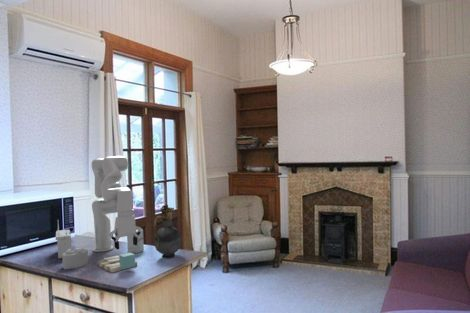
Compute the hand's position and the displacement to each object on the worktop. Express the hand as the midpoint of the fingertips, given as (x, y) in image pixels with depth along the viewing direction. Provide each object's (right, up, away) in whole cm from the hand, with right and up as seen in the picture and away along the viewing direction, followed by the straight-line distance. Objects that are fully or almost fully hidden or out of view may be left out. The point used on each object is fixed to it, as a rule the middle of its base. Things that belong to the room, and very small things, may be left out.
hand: (126, 246), depth 187 cm
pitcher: (+17, -11, +21) cm, 29 cm away
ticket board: (-8, -12, +9) cm, 17 cm away
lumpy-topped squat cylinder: (-32, -13, +12) cm, 37 cm away
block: (+1, -10, 0) cm, 10 cm away
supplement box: (-5, -12, +36) cm, 38 cm away
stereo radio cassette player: (-48, -14, +35) cm, 61 cm away
